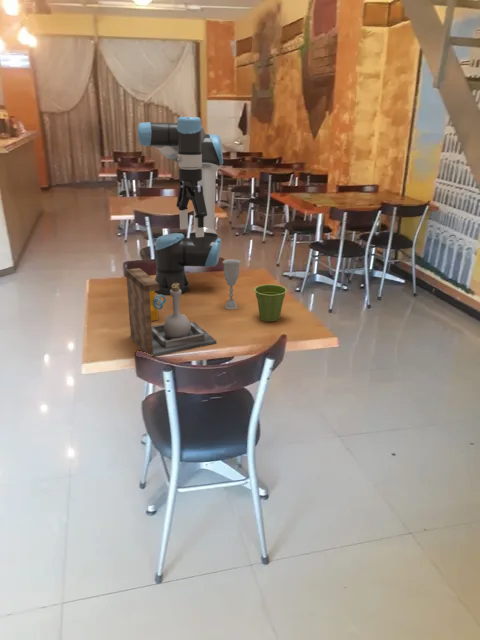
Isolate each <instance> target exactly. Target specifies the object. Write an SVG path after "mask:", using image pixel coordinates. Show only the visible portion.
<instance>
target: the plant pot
mask: <svg viewBox="0 0 480 640" xmlns="http://www.w3.org/2000/svg"><path fill="white" fill-rule="evenodd" d="M253 291H254V293H255V296H256V300H257V307H258V313H259V319H260V320H262V321H264V322H277V321H279V320H280V318H281V312H282V308H283V302H284V298H285V296H286V293H287V292H288V289H287V288H286V287H285V286H283V285H278V284H261V285H257V286H255V287H254V288H253Z"/></svg>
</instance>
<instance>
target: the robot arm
mask: <svg viewBox="0 0 480 640" xmlns="http://www.w3.org/2000/svg"><path fill="white" fill-rule="evenodd" d="M137 140H138V143H139V145H140V146H142V147H143V146H144V147H154V148H155V149H157V150H159V152H160V153H161V155H162V156H163V157H164V158H166V159H168V160H171V161H173V162H176V163H178V167H180V168H178V180H179V184H178V185H179V186H178V193H177V199H176V205H175V206H176V208H178V210H179V229H180V230H188V229H189V221H188V220H189V218H188V217H189V216H188V215H189V214H188V213H189V212H188V210H189V208H188V204H189V202H190V201H191V202H192V203H191V204H192V207H193V229H192V230H191V231H190V232H189V237H185V235H184V234H183V233H182V232H181V233H179V232H174V233H168V234H163V235H160V236H158V237H157V238H156V239H155V248H154V250H155V261H156V262H155V263H156V273H155V278H154V280H155V281H156V282H158V283H159V290H157V291H155V294H158V295H164V296H165V295H167V296H169V295H170V290H171V289H172V285H173V284H174V283H179V284H180V285H179V289H181V290H182V292H181V294H184V293H187V292H188V291H189V290H190V282H189V280H188V277H187V274H186V271H185V267H202V268H203V267H205V268H208V267H211V268H212V267H215V266H217V265H218V263H219V260H220V257H221V256H220V255H221V248H222V247H221V246H222V239H221V238H220V237H218V236H219V234H218V232H217V231H216V230H215V216H216V213H215V211H216V210H215V209H216V179H217V178H216V175H217V174H216V173H217V172H218V171H219V170H220V167H221V165H223V164H224V157H223V148H222V147H223V146H222V139H221V137H220V136H219V135H218V134H212V133H207V134H206V131H205V129H204V127H203V126H202V120H201V118H200V117H199V116H180V117H178V118H177V121H176V122H150V121H147V122H140V123H139V124H138V126H137ZM170 296H171V295H170Z"/></svg>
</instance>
